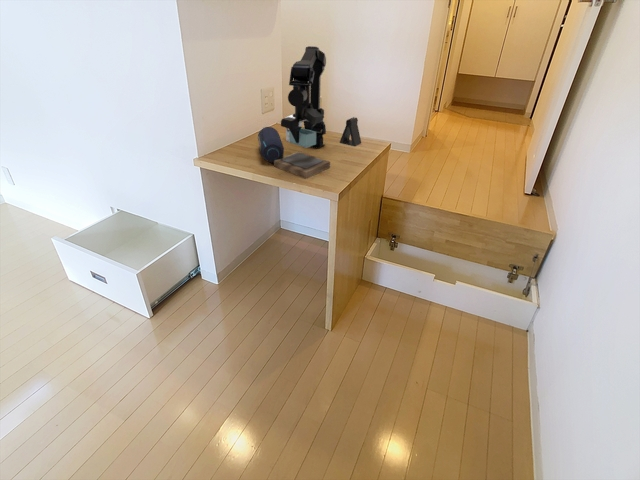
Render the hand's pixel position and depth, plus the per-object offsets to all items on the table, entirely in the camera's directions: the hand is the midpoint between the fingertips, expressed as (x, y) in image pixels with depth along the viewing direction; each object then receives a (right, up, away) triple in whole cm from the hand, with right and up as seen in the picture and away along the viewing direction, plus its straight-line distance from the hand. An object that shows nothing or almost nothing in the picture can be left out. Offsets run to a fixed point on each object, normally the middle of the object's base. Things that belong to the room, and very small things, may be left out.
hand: (302, 141), depth 143 cm
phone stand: (+22, +8, +33) cm, 41 cm away
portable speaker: (-14, -2, +16) cm, 22 cm away
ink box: (-6, +11, +36) cm, 38 cm away
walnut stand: (-1, -9, +6) cm, 11 cm away
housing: (0, -1, 0) cm, 1 cm away
